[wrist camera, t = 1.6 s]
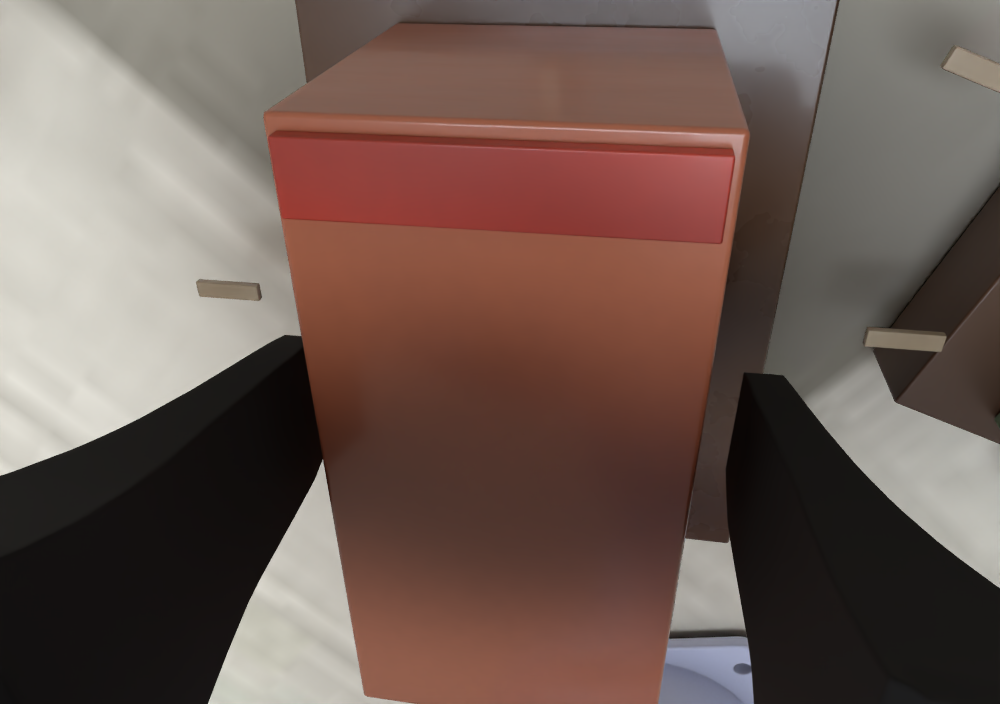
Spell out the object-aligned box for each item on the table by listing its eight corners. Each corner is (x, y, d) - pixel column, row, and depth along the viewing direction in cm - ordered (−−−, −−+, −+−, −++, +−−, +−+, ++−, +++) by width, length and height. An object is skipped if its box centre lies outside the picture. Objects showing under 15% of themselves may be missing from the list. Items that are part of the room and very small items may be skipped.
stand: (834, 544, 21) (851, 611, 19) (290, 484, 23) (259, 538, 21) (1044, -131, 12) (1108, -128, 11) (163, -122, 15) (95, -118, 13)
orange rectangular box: (653, 522, 19) (652, 754, 14) (432, 497, 19) (359, 709, 15) (718, 27, 13) (754, 137, 8) (394, 22, 13) (250, 118, 9)
